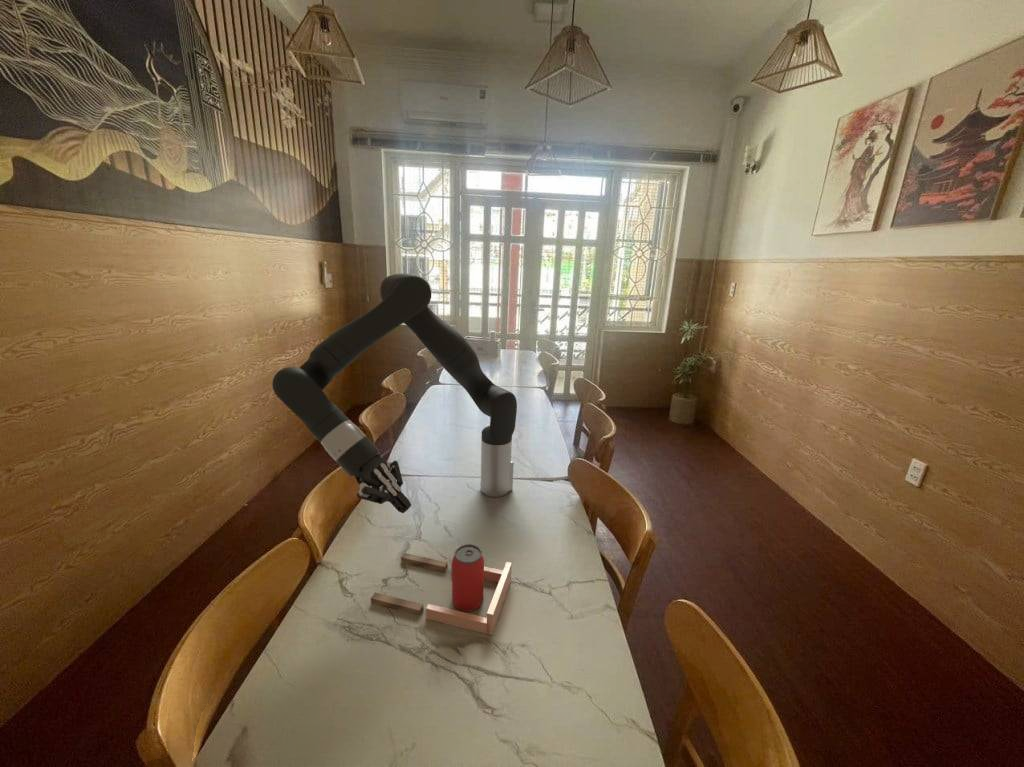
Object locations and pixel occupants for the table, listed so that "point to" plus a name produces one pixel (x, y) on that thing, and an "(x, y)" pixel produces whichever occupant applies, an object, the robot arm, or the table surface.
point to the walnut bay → (405, 604)
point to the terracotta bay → (475, 621)
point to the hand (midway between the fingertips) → (407, 509)
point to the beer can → (467, 577)
